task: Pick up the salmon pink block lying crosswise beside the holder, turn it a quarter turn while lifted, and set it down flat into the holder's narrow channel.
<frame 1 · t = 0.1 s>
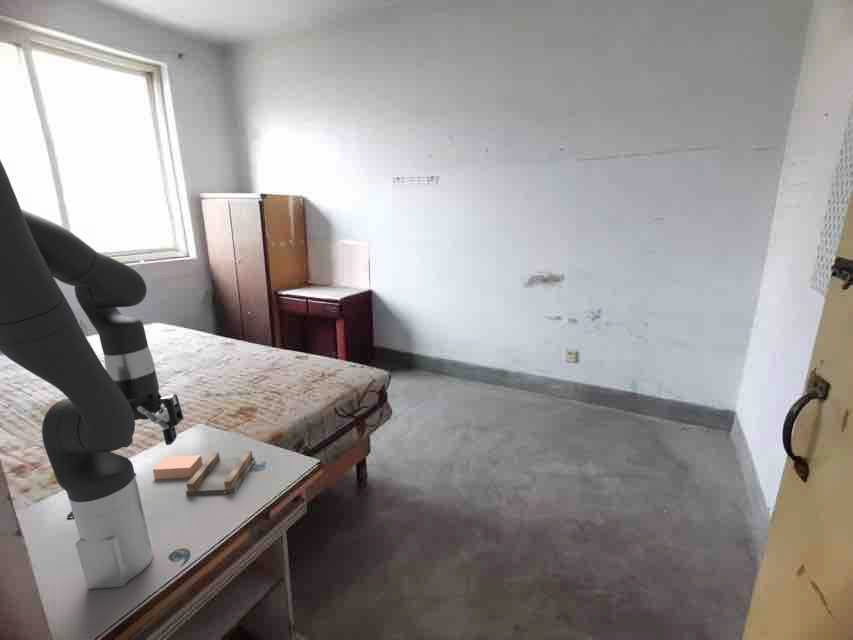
hand: (149, 444, 84), 17 cm above the table, tool pointing down, fingers open, 8 cm apart
smartphone: (104, 496, 96), on the table
salmon pink block: (179, 472, 104), on the table
holder: (223, 476, 101), on the table
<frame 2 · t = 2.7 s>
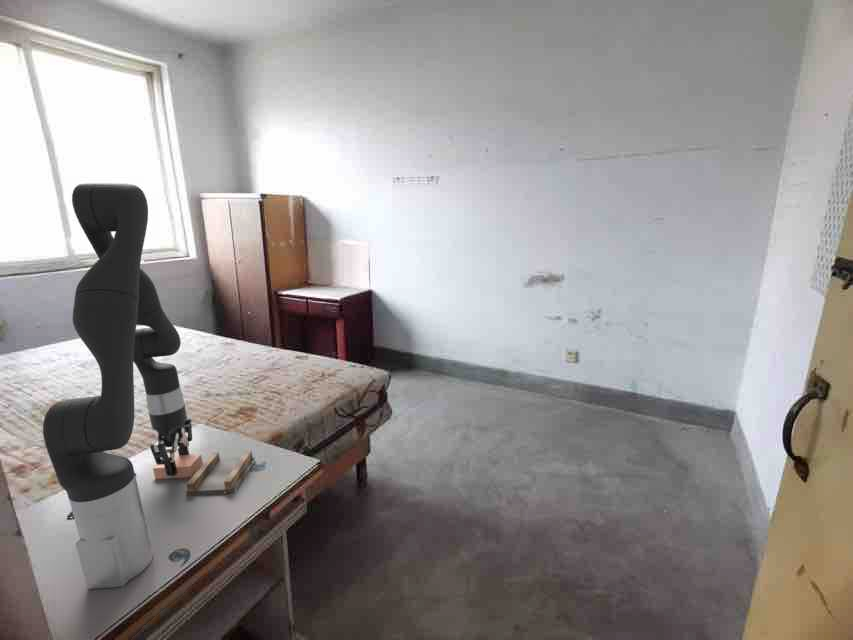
hand: (178, 467, 104), 1 cm above the table, tool pointing down, fingers closed on salmon pink block, 5 cm apart
salmon pink block: (179, 471, 104), on the table, touching gripper
everything else where it was.
when the fingers open (4 cm above the table, at t = 8.4 s): salmon pink block drops 2 cm, resting on holder.
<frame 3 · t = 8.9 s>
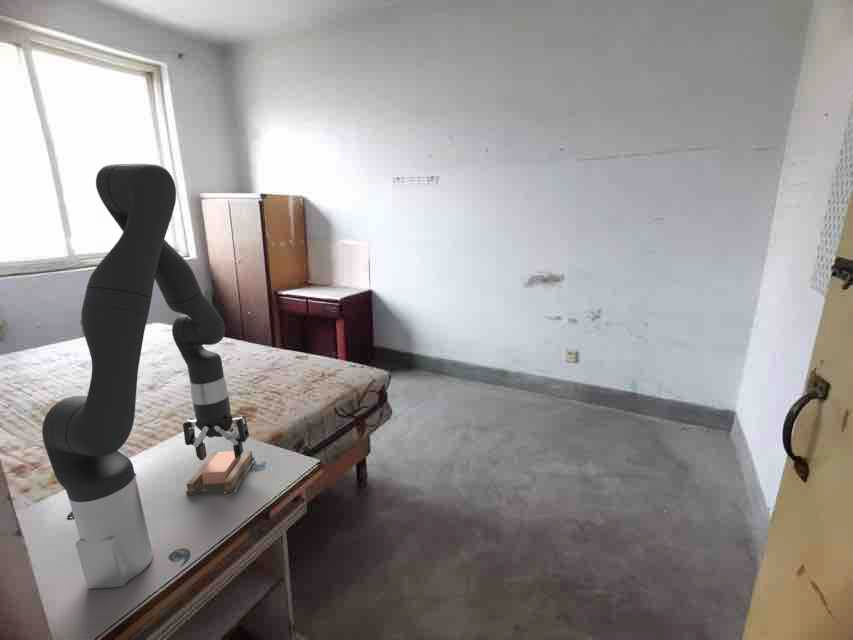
hand: (220, 457, 100), 5 cm above the table, tool pointing down, fingers open, 8 cm apart
salmon pink block: (223, 472, 101), point 1 cm above the table, touching holder
everything else where it was.
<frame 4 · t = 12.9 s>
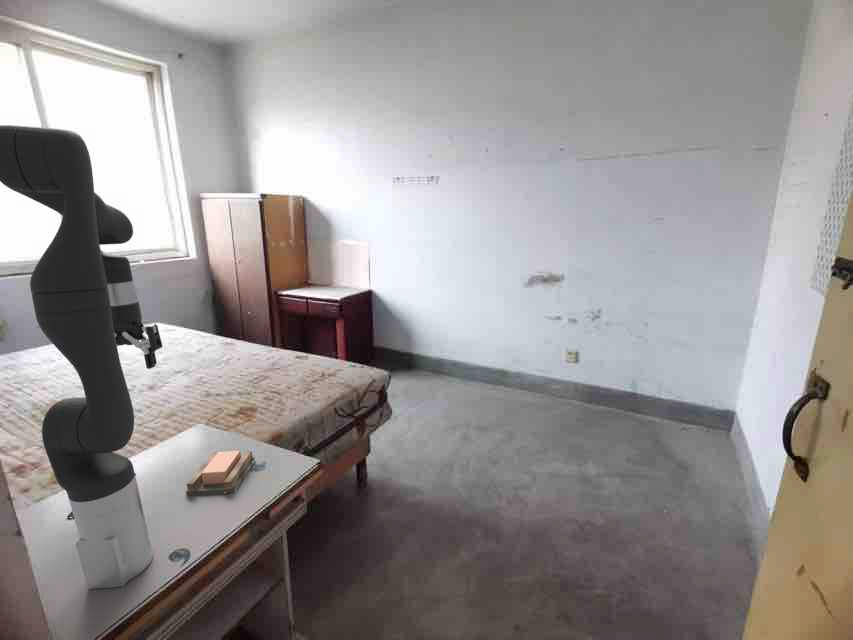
hand: (132, 368, 97), 28 cm above the table, tool pointing down, fingers open, 8 cm apart
nothing on the table moved.
at the end: salmon pink block inside the target area on the holder (0.5 cm from its centre), point 1.0 cm above the holder's base; salmon pink block tilted 0°; the gripper is holding nothing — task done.
